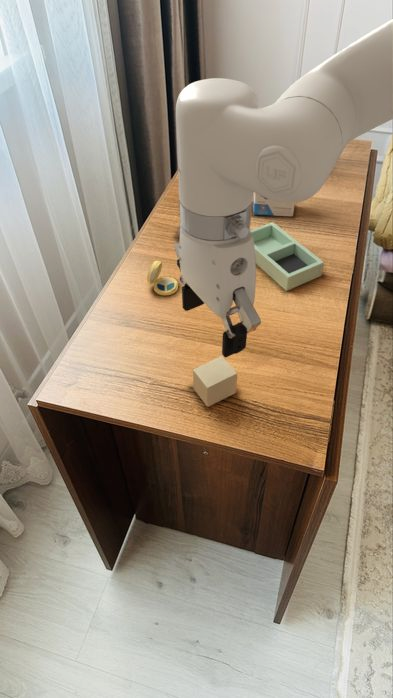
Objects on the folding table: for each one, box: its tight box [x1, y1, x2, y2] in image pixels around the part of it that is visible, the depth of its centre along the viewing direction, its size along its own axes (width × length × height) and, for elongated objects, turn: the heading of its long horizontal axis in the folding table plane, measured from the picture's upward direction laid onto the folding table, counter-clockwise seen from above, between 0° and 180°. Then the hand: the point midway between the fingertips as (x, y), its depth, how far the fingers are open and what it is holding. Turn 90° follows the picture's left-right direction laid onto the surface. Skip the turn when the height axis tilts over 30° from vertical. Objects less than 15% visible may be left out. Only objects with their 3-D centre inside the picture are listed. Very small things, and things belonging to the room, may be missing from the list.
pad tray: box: [249, 221, 325, 292], centre depth 94 cm, size 8×15×3 cm, turn 31°
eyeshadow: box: [146, 260, 179, 296], centre depth 89 cm, size 4×5×5 cm
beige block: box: [192, 355, 238, 408], centre depth 72 cm, size 4×5×4 cm
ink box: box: [252, 192, 296, 217], centre depth 103 cm, size 9×5×12 cm, turn 84°
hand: (212, 328), depth 65 cm, fingers open, 9 cm apart
